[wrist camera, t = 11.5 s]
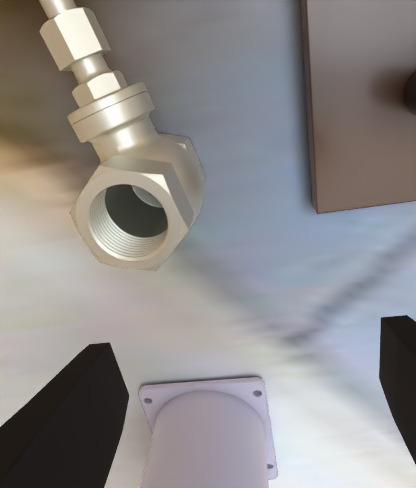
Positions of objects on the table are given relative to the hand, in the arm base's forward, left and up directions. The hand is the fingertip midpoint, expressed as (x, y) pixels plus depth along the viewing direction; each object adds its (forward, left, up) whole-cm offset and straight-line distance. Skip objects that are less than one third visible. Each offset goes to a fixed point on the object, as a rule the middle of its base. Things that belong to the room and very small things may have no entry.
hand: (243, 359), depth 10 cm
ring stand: (+5, -8, -9) cm, 13 cm away
